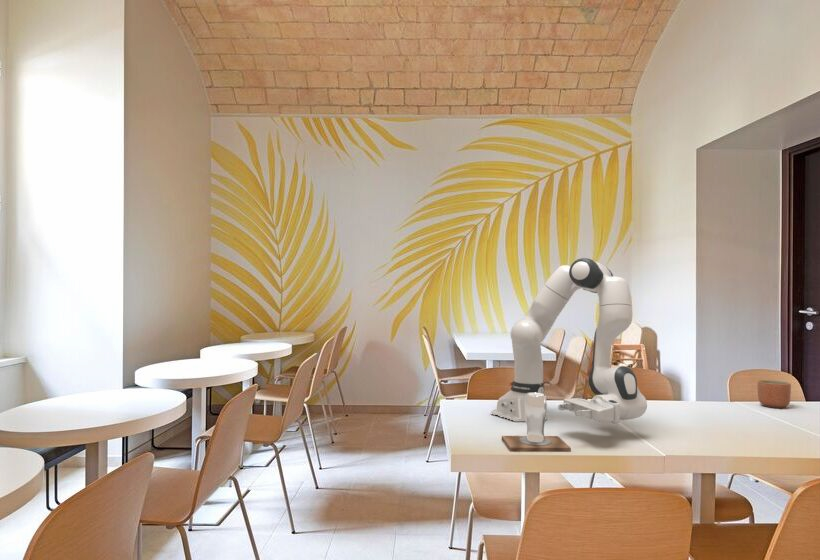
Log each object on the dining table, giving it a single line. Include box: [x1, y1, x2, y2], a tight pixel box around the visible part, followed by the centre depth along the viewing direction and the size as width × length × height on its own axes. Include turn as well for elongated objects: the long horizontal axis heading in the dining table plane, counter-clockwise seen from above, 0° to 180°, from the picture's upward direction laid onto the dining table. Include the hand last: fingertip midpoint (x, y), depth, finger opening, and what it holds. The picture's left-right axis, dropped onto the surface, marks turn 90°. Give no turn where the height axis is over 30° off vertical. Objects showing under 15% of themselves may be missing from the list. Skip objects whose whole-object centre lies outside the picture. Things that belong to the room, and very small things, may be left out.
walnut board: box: [501, 435, 572, 453], centre depth 182 cm, size 19×14×2 cm
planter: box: [757, 379, 792, 409], centre depth 248 cm, size 12×12×11 cm
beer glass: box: [525, 392, 548, 443], centre depth 182 cm, size 7×7×15 cm
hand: (567, 410), depth 186 cm, fingers open, 8 cm apart
